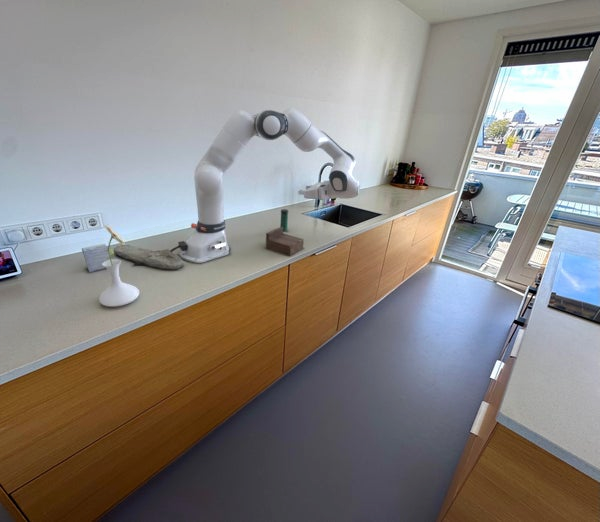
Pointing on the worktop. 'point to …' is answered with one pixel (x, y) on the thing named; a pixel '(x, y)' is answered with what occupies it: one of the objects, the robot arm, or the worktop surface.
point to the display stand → (283, 242)
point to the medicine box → (95, 256)
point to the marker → (284, 219)
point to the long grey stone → (150, 256)
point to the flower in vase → (116, 280)
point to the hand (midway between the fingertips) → (302, 190)
